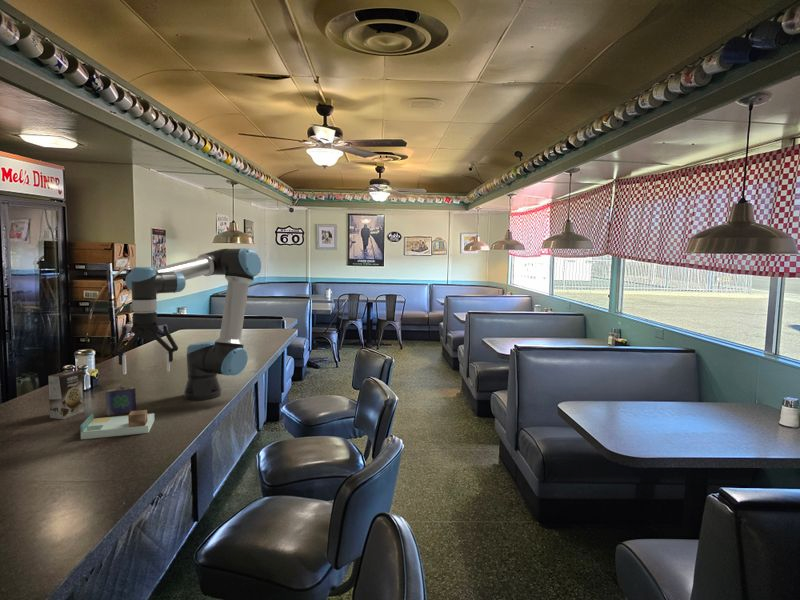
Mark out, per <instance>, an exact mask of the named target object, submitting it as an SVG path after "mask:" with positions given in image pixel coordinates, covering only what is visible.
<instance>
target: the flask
mask: <svg viewBox="0 0 800 600" xmlns="http://www.w3.org/2000/svg"><path fill="white" fill-rule="evenodd" d="M136 394H137V393H136V388H135V386H134V387H133V386H128V387H127V386H124V385H123V383H118V385H117V388H115V389H108V390H106V391H105V403H106V416H107V417H115V416H123V415H124V414H125V415H127V414H128V415H129V414H130V412H131V411H137V400H136V399H137V395H136Z"/></svg>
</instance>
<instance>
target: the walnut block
mask: <svg viewBox="0 0 800 600" xmlns="http://www.w3.org/2000/svg"><path fill="white" fill-rule="evenodd" d="M147 414H148V409H141V410H136V411H131V412H130V413H128V415H127V416H128V421H129V427H135V426H145V425H146V423H147V421H148V419H147Z"/></svg>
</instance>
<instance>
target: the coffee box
mask: <svg viewBox="0 0 800 600" xmlns="http://www.w3.org/2000/svg"><path fill="white" fill-rule="evenodd" d="M82 372H83V371H80V370H67V371H62V372H59V373H55V374H50V375H48V400H49V401H48V402H49V418H50V419H58V420H65V419H68V418H71V417H73V416H77V415H79V414H81V413H84V394H83V393H84V392H83V373H82Z"/></svg>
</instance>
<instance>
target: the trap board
mask: <svg viewBox="0 0 800 600" xmlns="http://www.w3.org/2000/svg"><path fill="white" fill-rule="evenodd" d="M147 419H148V421H147V423H146V425H145V426H135V427H129V421H128V415H117V416H107V417H97V418H95V413H94V412H91V413H90V415H89V416H88V417H87V418H86V419H85V421H83V422H82V423H81V424H80V426H79V427H80V440H91V439H97V438H98V439H99V438H109V437H120V436H129V435H139V434H141V435H142V434H149V433H150V431H151V428H152V427H153V424H154V423H155V420H156V419H155V413H153V412H152V413H147Z"/></svg>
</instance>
